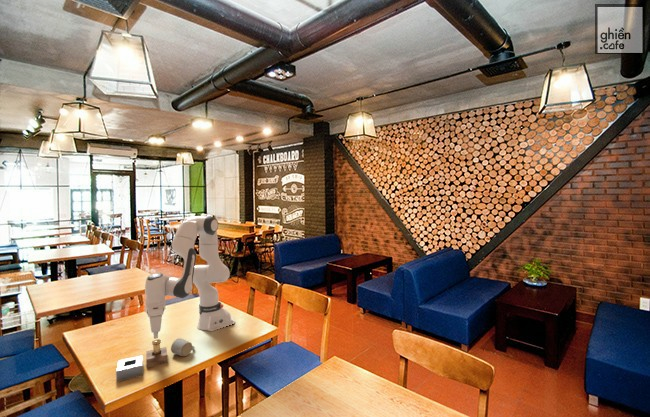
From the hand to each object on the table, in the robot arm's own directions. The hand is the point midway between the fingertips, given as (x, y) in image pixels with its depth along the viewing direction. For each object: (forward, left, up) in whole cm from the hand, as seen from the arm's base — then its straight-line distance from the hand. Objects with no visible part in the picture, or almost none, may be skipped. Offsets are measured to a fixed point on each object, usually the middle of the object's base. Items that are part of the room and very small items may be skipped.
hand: (155, 334), depth 152 cm
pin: (0, 0, -14) cm, 14 cm away
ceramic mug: (-13, -2, -14) cm, 19 cm away
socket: (+11, +6, -14) cm, 18 cm away
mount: (0, 0, -14) cm, 14 cm away
